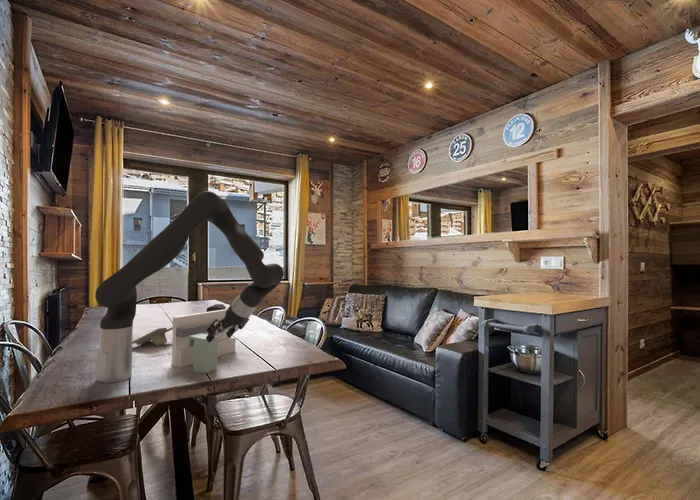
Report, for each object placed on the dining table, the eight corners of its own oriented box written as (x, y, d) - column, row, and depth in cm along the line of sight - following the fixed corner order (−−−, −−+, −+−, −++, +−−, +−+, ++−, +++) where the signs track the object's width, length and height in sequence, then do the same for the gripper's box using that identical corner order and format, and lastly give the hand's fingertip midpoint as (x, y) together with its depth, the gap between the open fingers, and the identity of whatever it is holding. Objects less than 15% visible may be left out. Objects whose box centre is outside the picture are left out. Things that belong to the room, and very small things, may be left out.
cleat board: (181, 367, 134) (182, 318, 135) (171, 365, 137) (172, 317, 137) (235, 351, 157) (236, 309, 157) (226, 350, 160) (227, 308, 160)
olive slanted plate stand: (136, 360, 156) (164, 337, 157) (125, 344, 158) (153, 321, 159) (158, 356, 172) (183, 335, 173) (148, 341, 174) (173, 320, 175)
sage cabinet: (204, 373, 128) (204, 339, 128) (187, 369, 133) (188, 336, 133) (216, 369, 133) (217, 336, 133) (200, 365, 137) (201, 333, 138)
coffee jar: (210, 342, 174) (211, 303, 174) (227, 342, 174) (228, 303, 174) (203, 347, 164) (204, 305, 164) (221, 347, 164) (221, 306, 165)
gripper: (252, 297, 131) (229, 326, 136) (219, 301, 118) (196, 333, 124) (262, 314, 128) (238, 342, 134) (230, 320, 116) (206, 350, 121)
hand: (218, 337), depth 129 cm, fingers open, 8 cm apart
